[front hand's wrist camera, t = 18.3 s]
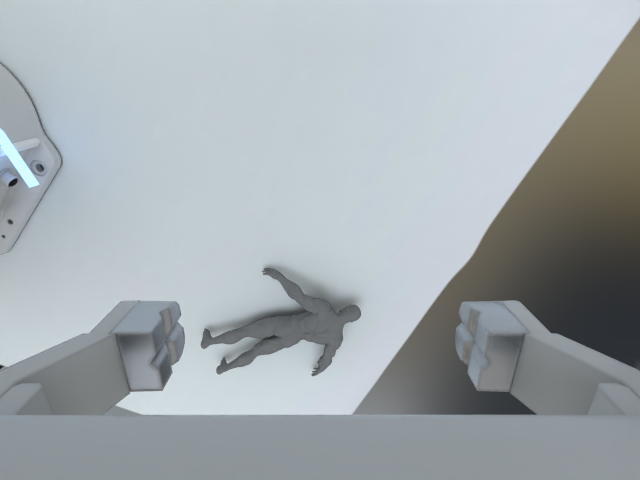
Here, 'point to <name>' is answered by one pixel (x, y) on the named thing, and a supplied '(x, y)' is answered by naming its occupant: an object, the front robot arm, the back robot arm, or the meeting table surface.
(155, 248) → the meeting table surface
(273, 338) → the figurine
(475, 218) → the meeting table surface
